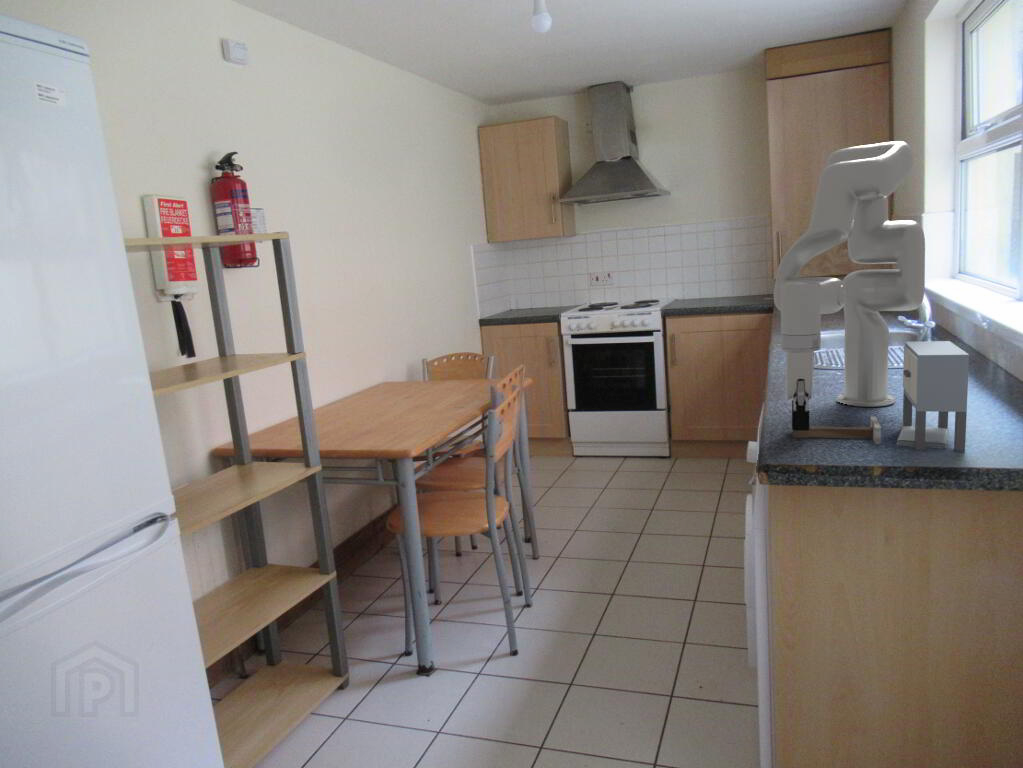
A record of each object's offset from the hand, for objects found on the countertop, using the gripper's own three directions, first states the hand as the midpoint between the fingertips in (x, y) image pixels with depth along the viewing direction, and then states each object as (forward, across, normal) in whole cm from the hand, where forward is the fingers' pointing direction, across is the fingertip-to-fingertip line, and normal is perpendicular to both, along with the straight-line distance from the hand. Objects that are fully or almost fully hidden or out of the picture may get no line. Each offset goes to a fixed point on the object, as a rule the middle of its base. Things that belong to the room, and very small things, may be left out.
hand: (800, 424), depth 154 cm
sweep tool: (+2, 0, +6) cm, 7 cm away
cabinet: (+2, 0, +24) cm, 24 cm away
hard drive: (+3, 0, +22) cm, 23 cm away
